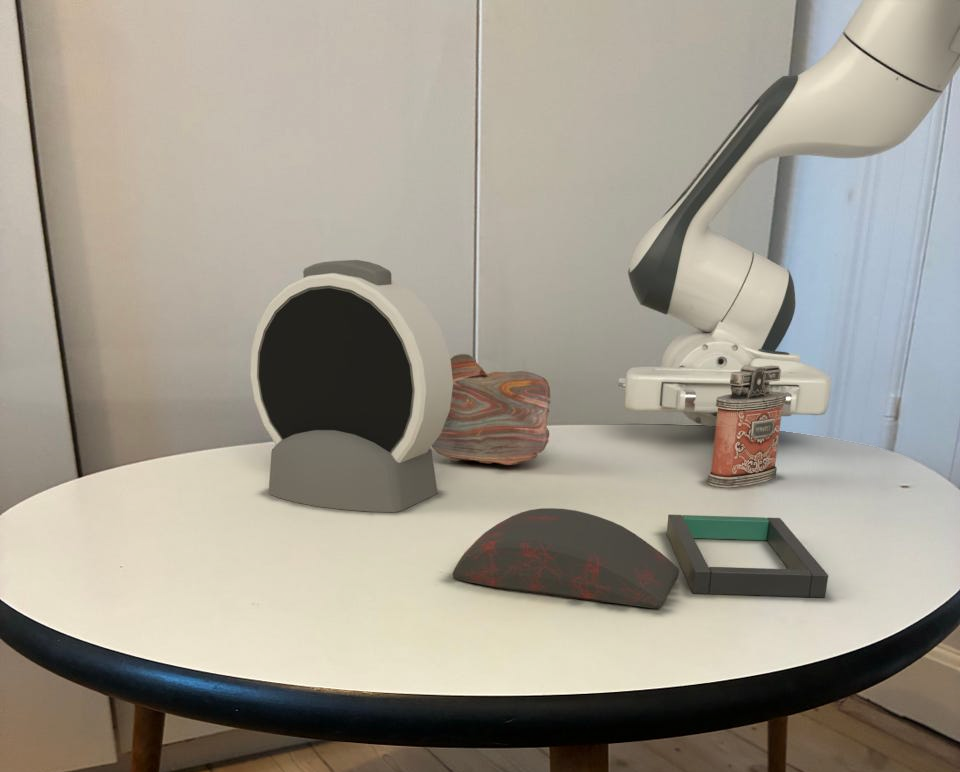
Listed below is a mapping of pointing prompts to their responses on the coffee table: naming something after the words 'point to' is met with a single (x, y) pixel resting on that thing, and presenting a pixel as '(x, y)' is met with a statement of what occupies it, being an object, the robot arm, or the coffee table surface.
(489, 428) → the stone
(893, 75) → the robot arm
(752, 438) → the lighter
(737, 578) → the frame
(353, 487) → the alarm clock
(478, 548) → the computer mouse
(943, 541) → the coffee table surface
